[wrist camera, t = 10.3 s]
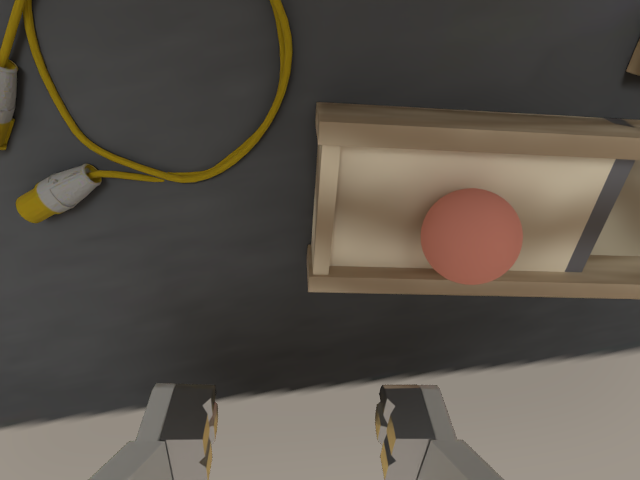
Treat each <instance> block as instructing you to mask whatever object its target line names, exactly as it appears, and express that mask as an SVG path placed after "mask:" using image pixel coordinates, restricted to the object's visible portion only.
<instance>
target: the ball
mask: <svg viewBox="0 0 640 480" xmlns="http://www.w3.org/2000/svg"><path fill="white" fill-rule="evenodd" d="M522 242H523V230H522V225H521V222H520V219H519V217H518V215H517V213H516V212H515V210H514V209H513V207H512V206H511V205H510V204H509V203H508V202H507V201H506V200H505V199H503V198H502V197H500V196H499V195H497V194H495V193H493V192H490V191H487V190H483V189H477V188H468V189H460V190H456V191H453V192H451V193H449V194H447V195H445V196H443V197H442V198H440V199H439V200H438V201H437V202H436V203H435V204H434V205H433V206H432V207H431V208H430V209H429V211H428V212H427V214H426V216H425V218H424V221H423V224H422V228H421V246H422V250H423V253H424V255H425V257H426V259H427V261H428V262H429V264H430V265H431V266H432V268H433V269H434V270H435V271H437V272H438V273H439V274H440V275H441V276H443V277H444V278H446V279H448V280H450V281H453V282H456V283H459V284H465V285H478V284H483V283H488V282H490V281H493V280H495V279H497V278H499V277H501V276H502V275H503V274H505V273H506V272H507V271H508V270H509V269H510V268H511V267H512V266H513V264H514V263H515V262H516V260H517V258H518V256H519V254H520V251H521V248H522Z"/></svg>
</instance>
